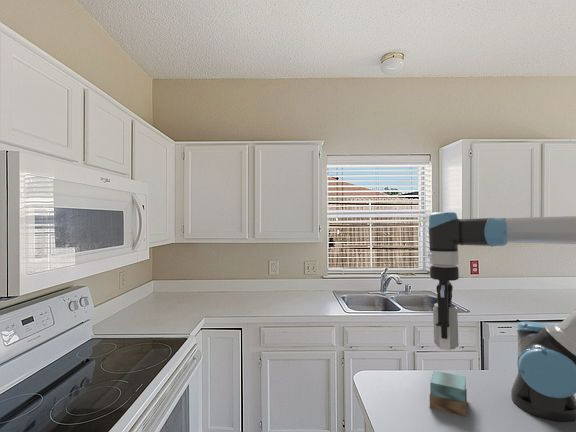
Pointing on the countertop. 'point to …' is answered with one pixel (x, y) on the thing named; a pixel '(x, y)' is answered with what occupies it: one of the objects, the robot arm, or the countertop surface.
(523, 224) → the robot arm
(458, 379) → the teal and brown block
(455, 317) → the beverage can
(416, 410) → the countertop surface
